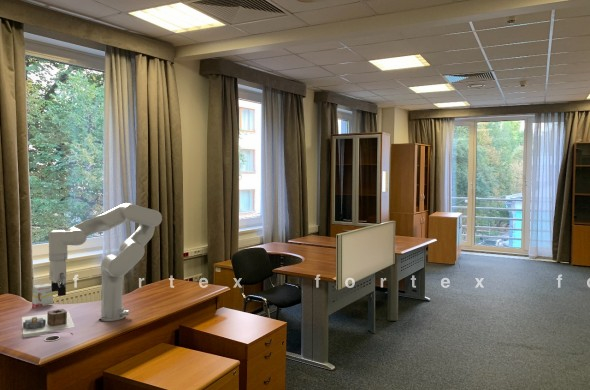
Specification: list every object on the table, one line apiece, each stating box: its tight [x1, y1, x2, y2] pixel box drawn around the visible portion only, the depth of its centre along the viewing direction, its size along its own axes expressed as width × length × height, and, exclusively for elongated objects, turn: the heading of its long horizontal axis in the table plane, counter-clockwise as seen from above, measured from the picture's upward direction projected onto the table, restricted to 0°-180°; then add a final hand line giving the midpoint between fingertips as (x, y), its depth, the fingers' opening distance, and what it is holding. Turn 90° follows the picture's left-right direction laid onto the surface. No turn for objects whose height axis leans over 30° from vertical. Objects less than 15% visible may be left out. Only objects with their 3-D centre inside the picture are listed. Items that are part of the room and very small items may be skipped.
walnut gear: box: [46, 308, 68, 326], centre depth 201 cm, size 8×8×6 cm
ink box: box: [31, 283, 54, 309], centre depth 228 cm, size 9×5×12 cm, turn 140°
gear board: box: [21, 310, 76, 339], centre depth 202 cm, size 26×20×6 cm
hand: (58, 293), depth 201 cm, fingers open, 9 cm apart
